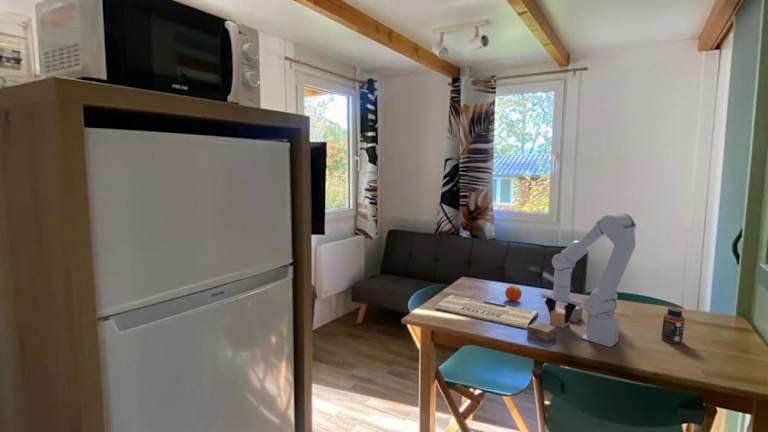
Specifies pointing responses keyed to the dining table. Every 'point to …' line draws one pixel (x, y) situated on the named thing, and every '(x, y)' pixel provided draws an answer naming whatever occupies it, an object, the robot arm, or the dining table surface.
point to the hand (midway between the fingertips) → (559, 320)
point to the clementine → (513, 293)
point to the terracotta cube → (558, 318)
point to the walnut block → (541, 332)
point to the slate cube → (576, 314)
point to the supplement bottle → (673, 326)
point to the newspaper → (487, 311)
